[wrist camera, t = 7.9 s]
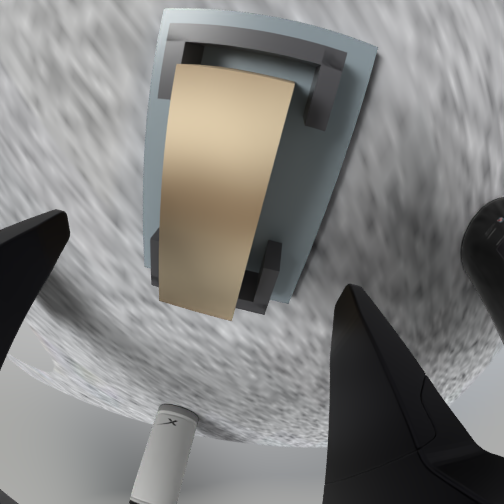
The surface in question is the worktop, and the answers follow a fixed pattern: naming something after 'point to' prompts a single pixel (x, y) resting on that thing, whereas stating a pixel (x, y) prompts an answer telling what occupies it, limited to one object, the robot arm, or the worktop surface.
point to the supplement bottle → (487, 259)
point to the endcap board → (292, 138)
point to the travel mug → (165, 457)
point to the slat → (215, 181)
